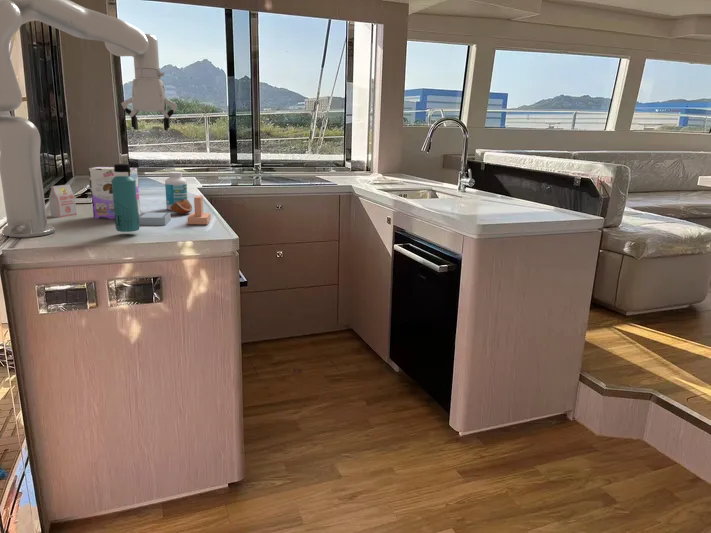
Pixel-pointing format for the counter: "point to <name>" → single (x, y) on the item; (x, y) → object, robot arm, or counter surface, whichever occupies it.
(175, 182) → the pill bottle
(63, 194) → the gable top carton
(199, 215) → the stub
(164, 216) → the flat grey block
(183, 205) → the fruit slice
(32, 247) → the counter surface
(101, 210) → the candy box
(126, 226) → the beverage bottle
